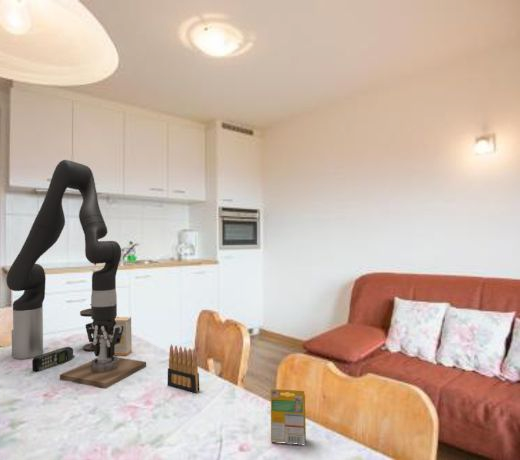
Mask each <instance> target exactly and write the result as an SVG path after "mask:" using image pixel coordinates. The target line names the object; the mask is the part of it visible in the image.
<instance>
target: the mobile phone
mask: <svg viewBox="0 0 520 460" xmlns="http://www.w3.org/2000/svg"><path fill="white" fill-rule="evenodd" d="M75 356H76V355H74V349H73V347H71V346H65V347H61V348H57V349H55V350H50V351H49V352H48V351H47V352H45V353H42V354H41V355H39V356H36V357H32V360H31V361H32V362H31V364H32V367H31V370H32V372H34V373H38V372H41V371H44V370H47V369H50V368H52V367H56V366H58V365H62V364H65V363H66V362H69V361H70V360H72V359H73V358H75Z"/></svg>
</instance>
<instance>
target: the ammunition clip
mask: <svg viewBox="0 0 520 460" xmlns="http://www.w3.org/2000/svg"><path fill="white" fill-rule="evenodd" d="M192 351H193V352H192ZM168 356H169V357H168V368H167V385H166V386H167V387H171V388H174V389H178V390H181V391H184V392H189V393H191V392H192V393H191V394H194V393H195V394H197V393H198V392H200V373H199V371H198V355H197V350H196V349H193V350H192V349H191V348H190V347H189V348H188V350H187V347H185V346H184V348H182V346H179V349H178V345H175V347H174V346H173V344H170V346H169V354H168Z"/></svg>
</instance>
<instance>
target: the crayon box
mask: <svg viewBox="0 0 520 460" xmlns="http://www.w3.org/2000/svg"><path fill="white" fill-rule="evenodd" d="M306 427H307V426H306V394H305V390H297V389H293V390H292V389H281V388H280V389H277V388H271V389H270V443H271V442H285V443H297V444H305V445H306V439H307V435H306V434H307V431H306V429H307V428H306Z"/></svg>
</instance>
